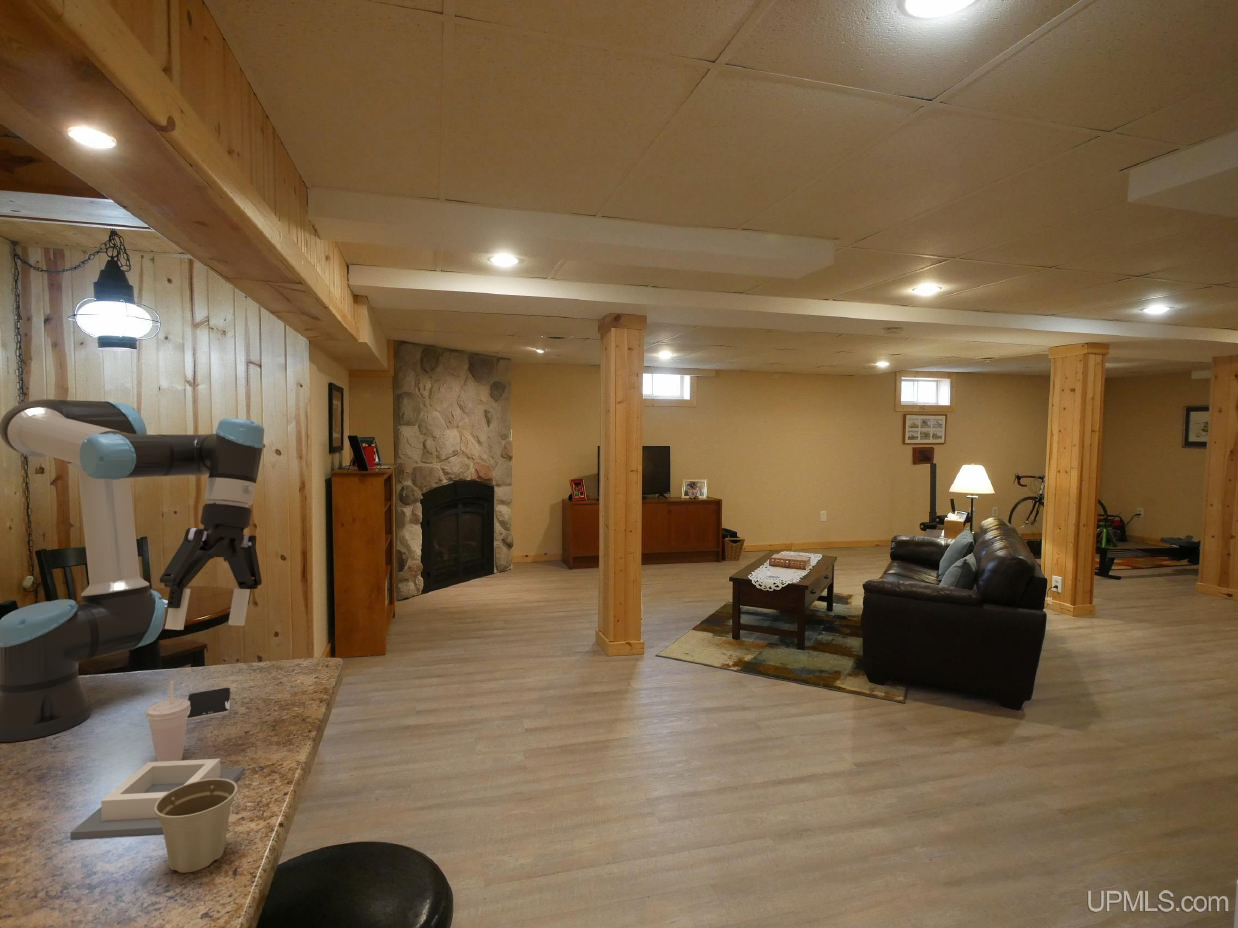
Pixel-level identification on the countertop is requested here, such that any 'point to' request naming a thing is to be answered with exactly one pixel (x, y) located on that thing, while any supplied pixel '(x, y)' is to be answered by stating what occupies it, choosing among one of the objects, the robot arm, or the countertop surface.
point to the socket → (147, 797)
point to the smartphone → (209, 704)
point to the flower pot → (196, 822)
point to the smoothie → (169, 727)
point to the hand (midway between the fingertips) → (206, 627)
